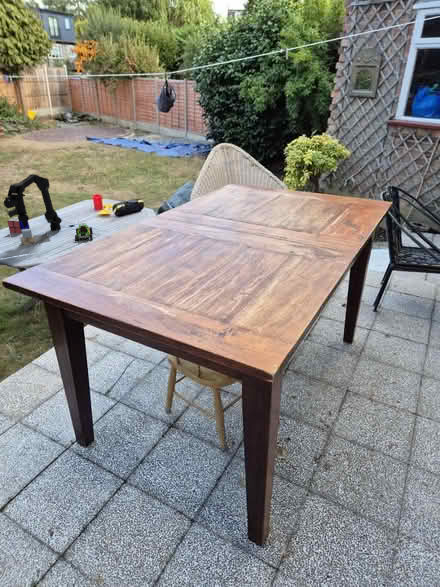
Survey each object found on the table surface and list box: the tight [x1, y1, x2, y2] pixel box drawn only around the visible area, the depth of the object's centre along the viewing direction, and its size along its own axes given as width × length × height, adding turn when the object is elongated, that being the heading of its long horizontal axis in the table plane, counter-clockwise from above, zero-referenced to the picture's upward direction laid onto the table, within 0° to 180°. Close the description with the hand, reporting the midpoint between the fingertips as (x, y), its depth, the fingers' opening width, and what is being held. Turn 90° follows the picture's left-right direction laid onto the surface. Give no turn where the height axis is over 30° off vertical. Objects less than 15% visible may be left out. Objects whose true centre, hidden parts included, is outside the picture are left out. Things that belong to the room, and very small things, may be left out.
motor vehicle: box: [74, 220, 94, 242], centre depth 285 cm, size 12×19×11 cm, turn 15°
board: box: [19, 233, 51, 247], centre depth 279 cm, size 18×18×1 cm
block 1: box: [21, 228, 33, 238], centre depth 270 cm, size 6×6×4 cm
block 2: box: [21, 233, 36, 246], centre depth 272 cm, size 7×7×4 cm
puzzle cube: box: [6, 216, 31, 234], centre depth 294 cm, size 10×10×10 cm
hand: (25, 227), depth 268 cm, fingers closed
